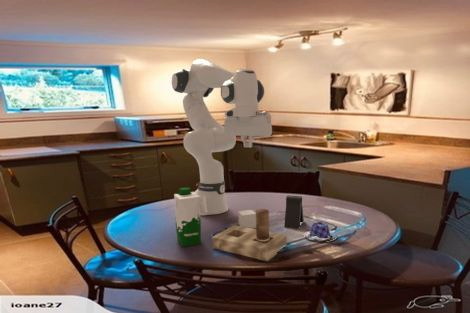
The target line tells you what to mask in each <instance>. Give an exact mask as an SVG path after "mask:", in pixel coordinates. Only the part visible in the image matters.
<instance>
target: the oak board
mask: <svg viewBox="0 0 470 313" xmlns="http://www.w3.org/2000/svg"><path fill="white" fill-rule="evenodd" d="M269 237H270V240H269V241H268V243H262V242H258V241H257V240H256V228H246V227H241V226H239V225H235V224H234V225H232V226H230V227H229V228H227V229H225V230H223V231H221V232H219V233H217V234H216V235H214V236H212V237H211V239H212V249H216V250H219V251H223V252H228V253H233V254H236V255H240V256H244V257H249V258H252V259H256V260H261V261H264V262H269V261H270V260H272V259H273V258H274V257H275V256H276V255H277V254H278V253H277V252H278V251H279V250H280V248H281V247H283V246H284V245H286V244H287V242H288V241H287V234H281V233H278V232H277V233H276V232H271V231H269ZM287 245H288V244H287Z"/></svg>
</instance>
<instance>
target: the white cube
mask: <svg viewBox="0 0 470 313" xmlns="http://www.w3.org/2000/svg"><path fill="white" fill-rule="evenodd" d="M237 213H238V214H237V216H238V225H239V224H240V226H241V227H246V228H251V229H256V211H254V210H253V209H246V210H239V211H238V212H237Z"/></svg>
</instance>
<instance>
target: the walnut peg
mask: <svg viewBox="0 0 470 313" xmlns="http://www.w3.org/2000/svg"><path fill="white" fill-rule="evenodd" d="M255 213H256V228H255V229H256V240H257V241H258V242H262V243H268V241H269V240H270V237H269V232H270V214H269V213H270V211H269V209H266V208H265V209H264V208H261V209H259V208H258V209H256V210H255Z"/></svg>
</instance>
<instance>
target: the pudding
mask: <svg viewBox="0 0 470 313" xmlns="http://www.w3.org/2000/svg"><path fill="white" fill-rule="evenodd" d="M307 232H310V234H309V236H317V237H319V238H328V236H330V232H331V231H330V228H329V224H328V223H327V222H324V221H316V222H313V223H312V224H311V227H310V230H308V231H306V232H305V231H304V233H303V237H304V238H305V234H306V233H307ZM336 239H337V237H336V238H335V239H333V240H330V239H329V240H330V241H326V242H328V243H329V242H331V241H334V240H336ZM326 242H325V243H326Z"/></svg>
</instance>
